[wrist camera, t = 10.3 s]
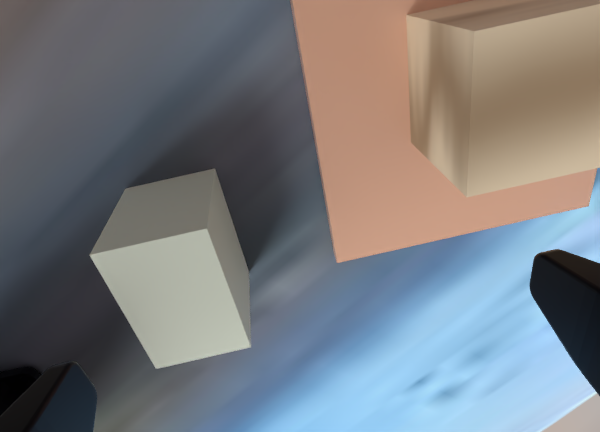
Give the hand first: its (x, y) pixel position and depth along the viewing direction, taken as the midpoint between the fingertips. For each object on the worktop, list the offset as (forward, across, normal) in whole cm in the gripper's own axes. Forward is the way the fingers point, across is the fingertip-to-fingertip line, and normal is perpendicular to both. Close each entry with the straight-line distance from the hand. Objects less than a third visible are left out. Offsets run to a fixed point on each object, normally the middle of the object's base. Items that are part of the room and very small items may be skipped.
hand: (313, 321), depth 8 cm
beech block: (+10, -8, -1) cm, 13 cm away
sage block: (+11, +5, +4) cm, 13 cm away
